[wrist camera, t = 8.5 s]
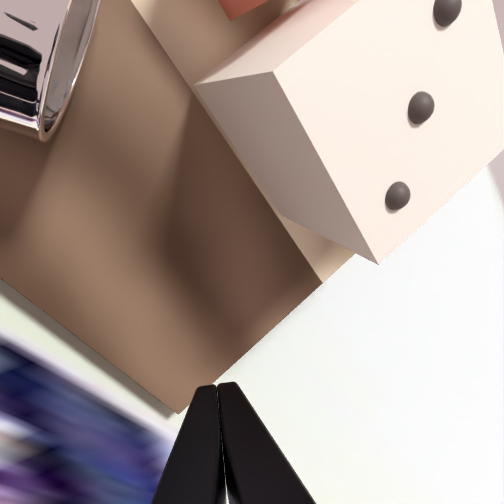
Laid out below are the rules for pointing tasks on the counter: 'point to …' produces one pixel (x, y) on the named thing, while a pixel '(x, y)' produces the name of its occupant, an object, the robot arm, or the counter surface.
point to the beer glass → (41, 60)
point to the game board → (154, 206)
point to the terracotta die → (239, 7)
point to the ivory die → (365, 112)
